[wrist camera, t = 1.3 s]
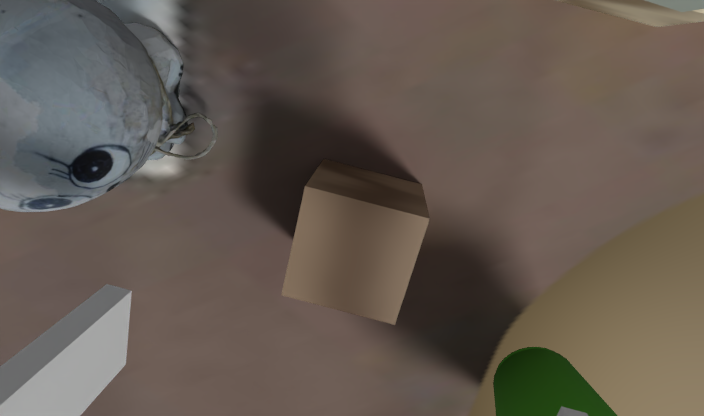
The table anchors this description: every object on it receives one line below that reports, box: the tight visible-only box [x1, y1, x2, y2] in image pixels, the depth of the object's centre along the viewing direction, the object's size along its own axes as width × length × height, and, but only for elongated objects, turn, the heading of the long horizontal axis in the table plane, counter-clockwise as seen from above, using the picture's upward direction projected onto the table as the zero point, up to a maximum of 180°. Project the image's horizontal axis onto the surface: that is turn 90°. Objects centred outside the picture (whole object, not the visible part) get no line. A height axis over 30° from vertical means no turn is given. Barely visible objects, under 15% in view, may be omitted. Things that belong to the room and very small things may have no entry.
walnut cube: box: [281, 159, 430, 325], centre depth 24 cm, size 6×6×6 cm
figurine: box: [0, 0, 218, 212], centre depth 18 cm, size 10×9×15 cm
